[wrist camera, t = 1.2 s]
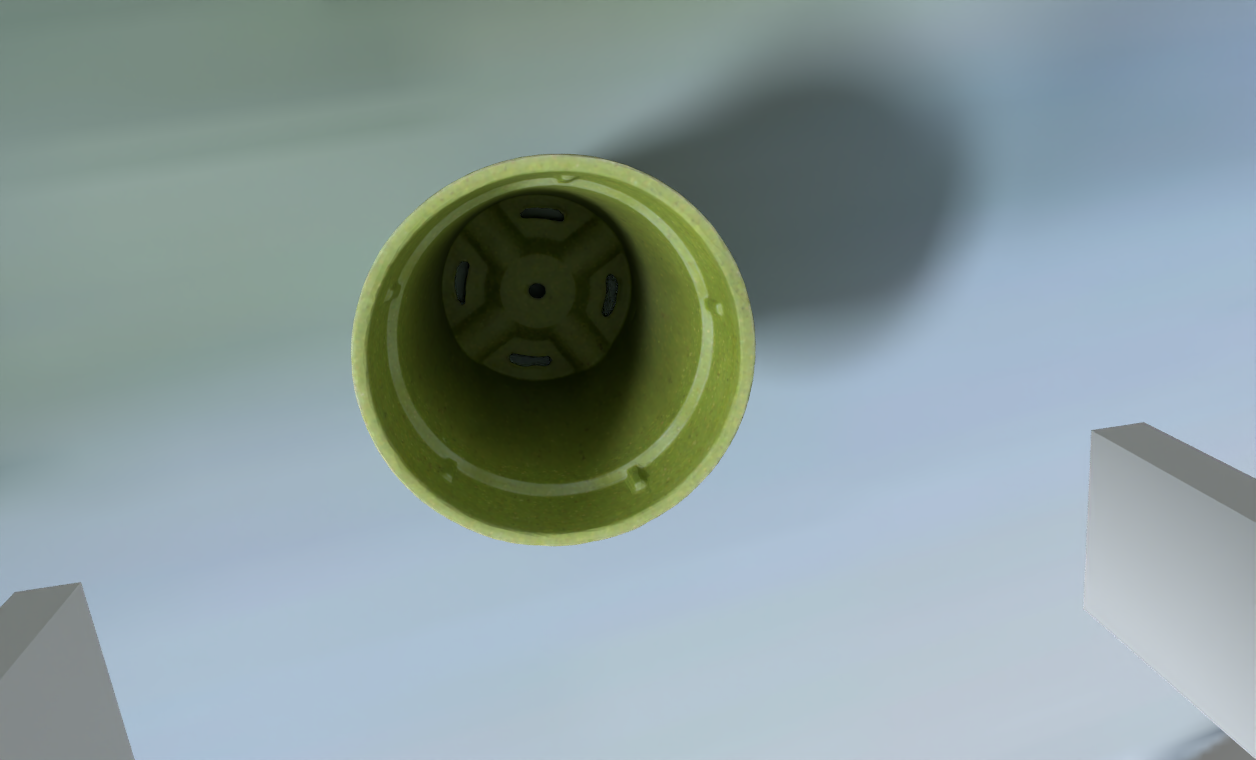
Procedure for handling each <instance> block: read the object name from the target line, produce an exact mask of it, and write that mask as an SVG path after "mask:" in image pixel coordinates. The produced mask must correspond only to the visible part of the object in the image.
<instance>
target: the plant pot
mask: <svg viewBox="0 0 1256 760" xmlns="http://www.w3.org/2000/svg"><path fill="white" fill-rule="evenodd" d="M537 207H538V208H552V209H554V210H559V211H560V213H562V214H563V215H564V221H561V222H559V221H555V220H549V219H543V218H522V217H521V215H520V214H521V213H522V212H523V211H524V210H525V209H526V208H537ZM462 261H465V262H468V263H469V265H470V266H469V270H468V275H467V280H466V289H465V291H466V295H465V297H464V298H465V304H463V305H461V302H460V301H459V300H458V299H457V295H456V290H455V275H456V269H457V267H458V266H459V264H460V263H461V262H462ZM609 274H612V275H614V277H615V278H616V281H617V283H618V292H617V296H616V304H615V307H614V309H613V311H612V313H611V314H610V315H609V316H607V317H605V316H603V314H602V309H603V305H604V301H605V297H606V287H607V286H606V277H607V276H608V275H609ZM535 283H538V284H541V285H543V286H545V290H546V293H545V295H544V296H543V297H542V298H539V299H538V298H533V297H532V296H531V295H530V294H529V287H530V286H531V285H532V284H535ZM512 353H515V354H519V355H526V356H536V357H545V356H549V357H550V358H551V359H552V361H551V362H550V364H549V365H547V366H536V365H532V366H525V367H524V366H520V365H516V364H514V363H512V362H511V361H510V358H509V356H510V355H511V354H512ZM351 360H352V375H353V383H354V389H355V393H356V398H357V402H358V405H359V408H360V411H361V414H362V417H363V419H364V422H365V424H366V427H367V430H368V432H369V434H370V436H371V438H372V440H373V442H374V444H375V446H376V448H377V450H378V451H379V453H380V454H381V456H382V458H383V459H384V461H385V462H386V463H387V465H388V466H389V468H390V469H391V470H392V472H393V473H394V474H395V475H396V476H397V477H398V479H399V480H400V481H401V482H402V483H403V484H404V485H405V486H406V487H407V488H408V489H409V490H410V491H411V492H412V493H413V494H414V495H415V496H416V497H417V498H419V499H420V500H421V501H422V502H423V503H425V504H426V505H428V506H429V507H430V508H432V509H433V510H434V511H436V512H438V513H439V514H441V515H443V516H444V517H446V518H448V519H449V520H451V521H453V522H455V523H457V524H459V525H461V526H463V527H465V528H467V529H469V530H472V531H474V532H477V533H479V534H482V535H484V536H487V537H490V538H493V539H497V540H502V541H506V542H510V543H516V544H525V545H542V546H566V545H577V544H583V543H588V542H592V541H599V540H603V539H607V538H611V537H614V536H617V535H620V534H623V533H626V532H629V531H632V530H634V529H636V528H638V527H640V526H642V525H644V524H645V523H647V522H649V521H650V520H652V519H654V518H656V517H658V516H660V515H661V514H663V513H664V512H666V511H667V510H669V509H671V508H672V507H674V506H675V505H677V504H678V503H679V502H680V501H682V500H683V499H684V498H685V497H687V496H688V495H689V494H690V493H691V492H692V491H693V490H694V489H695V488H696V487H697V486H698V485H699V484H700V483H701V482H702V481H703V480H704V479H705V478H706V477H707V476H708V475H709V474H710V472H711V471H712V470H713V469H714V468H715V466H716V465H717V464H718V462H719V461H720V459H721V458H722V456H723V455H724V453H725V452H726V450H727V448H728V447H729V445H730V444H731V442H732V440H733V438H734V436H735V434H736V432H737V430H738V428H739V425H740V423H741V421H742V418H743V415H744V413H745V410H746V407H747V403H748V400H749V396H750V391H751V387H752V382H753V374H754V364H755V327H754V320H753V314H752V310H751V305H750V301H749V297H748V293H747V290H746V286H745V283H744V281H743V278H742V276H741V273H740V271H739V268H738V266H737V264H736V262H735V260H734V258H733V256H732V254H731V252H730V251H729V249H728V248H727V246H726V244H725V243H724V241H723V240H722V238H721V237H720V235H719V234H718V233H717V231H716V230H715V228H714V227H713V226H712V225H711V223H710V222H709V221H708V220H707V219H706V217H705V216H704V215H703V214H702V213H701V212H700V211H699V210H698V209H697V208H696V207H695V206H694V205H692V204H691V203H690V202H689V201H688V200H687V199H686V198H685V197H683V196H682V195H681V194H680V193H678V192H677V191H676V190H674V189H672V188H671V187H669V186H668V185H666V184H664V183H663V182H661V181H660V180H658V179H656V178H654V177H653V176H651V175H649V174H646V173H644V172H642V171H640V170H637V169H635V168H632V167H630V166H627V165H625V164H621V163H618V162H615V161H611V160H607V159H603V158H598V157H593V156H586V155H576V154H543V155H533V156H526V157H519V158H515V159H511V160H507V161H503V162H499V163H496V164H493V165H490V166H487V167H484V168H482V169H479V170H477V171H474V172H472V173H470V174H468V175H466V176H464V177H462V178H460V179H458V180H456V181H454V182H453V183H451V184H449V185H448V186H446V187H444V188H442V189H441V190H439V191H438V192H437V193H435V194H434V195H433V196H431V197H430V198H428V199H427V200H426V201H425V202H424V203H422V204H421V205H420V206H419V207H418V208H417V209H416V210H415V211H413V212H412V213H411V214H410V215H409V216H408V217H407V218H406V219H405V220H404V221H403V222H402V223H401V224H400V226H399V227H398V228H397V229H396V230H395V231H394V233H393V234H392V235H391V236H390V238H389V239H388V240H387V242H386V243H385V244H384V246H383V247H382V249H381V251H380V252H379V254H378V256H377V258H376V260H375V261H374V263H373V265H372V267H371V269H370V271H369V273H368V276H367V278H366V281H365V283H364V286H363V289H362V291H361V294H360V298H359V302H358V306H357V309H356V314H355V318H354V323H353V331H352V342H351Z"/></svg>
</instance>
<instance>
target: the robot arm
mask: <svg viewBox="0 0 1256 760" xmlns="http://www.w3.org/2000/svg"><path fill="white" fill-rule="evenodd" d="M1083 609H1084V610H1085V611H1086V612H1087V613H1088V614H1089V615H1091V616H1092V617H1093V618H1094V619H1095V620H1096V621H1097V622H1099V623H1100V624H1101V625H1102V626H1103V627H1104V628H1105V629H1107V630H1108V631H1109V632H1110V633H1111V634H1112V635H1114V636H1115V637H1116V638H1117V639H1118V640H1119V641H1120V642H1122V643H1123V644H1124V645H1125V646H1126V647H1127V648H1129V649H1130V650H1131V651H1132V652H1133V653H1134V654H1135V655H1137V656H1138V657H1139V658H1140V659H1141V660H1142V661H1143V662H1145V663H1146V664H1147V665H1148V666H1149V667H1150V668H1152V669H1153V670H1154V671H1155V672H1156V673H1157V674H1158V675H1160V676H1161V677H1162V678H1163V679H1164V680H1165V681H1166V682H1168V683H1169V684H1170V685H1171V686H1172V687H1173V688H1175V689H1176V690H1177V691H1178V692H1179V693H1180V694H1181V695H1183V696H1184V697H1185V698H1186V699H1187V700H1188V701H1189V702H1191V703H1192V704H1193V705H1194V706H1195V707H1196V708H1198V709H1199V710H1200V711H1201V712H1202V713H1203V714H1204V715H1206V716H1207V717H1208V718H1209V719H1210V720H1211V721H1212V722H1214V723H1215V724H1216V725H1217V726H1218V727H1219V728H1221V729H1222V730H1223V731H1224V732H1225V733H1226V734H1227V735H1229V736H1230V737H1231V738H1232V739H1233V740H1234V741H1235V742H1237V743H1238V744H1239V745H1240V746H1241V747H1242V748H1244V749H1245V750H1246V751H1247V752H1248V753H1249V754H1250V755H1252V756H1253V757H1254V758H1255V759H1256V479H1255V478H1253V477H1251V476H1249V475H1247V474H1245V473H1243V472H1241V471H1239V470H1237V469H1235V468H1233V467H1231V466H1229V465H1228V464H1226V463H1224V462H1222V461H1220V460H1218V459H1216V458H1214V457H1212V456H1210V455H1208V454H1206V453H1204V452H1202V451H1200V450H1198V449H1196V448H1194V447H1192V446H1190V445H1188V444H1186V443H1184V442H1182V441H1180V440H1178V439H1176V438H1174V437H1172V436H1170V435H1168V434H1166V433H1164V432H1162V431H1160V430H1158V429H1156V428H1154V427H1152V426H1150V425H1148V424H1146V423H1144V422H1143V423H1136V424H1130V425H1123V426H1117V427H1110V428H1103V429H1097V430H1091V450H1090V471H1089V493H1088V515H1087V537H1086V558H1085V580H1084V602H1083ZM0 760H134V756H133V753H132V750H131V746H130V743H129V740H128V736H127V733H126V730H125V727H124V723H123V720H122V717H121V713H120V710H119V707H118V703H117V700H116V697H115V693H114V690H113V687H112V683H111V680H110V677H109V674H108V670H107V667H106V664H105V660H104V657H103V654H102V650H101V647H100V644H99V640H98V637H97V634H96V630H95V627H94V624H93V621H92V617H91V614H90V611H89V607H88V604H87V601H86V597H85V594H84V591H83V587H82V584H81V582H79V583H73V584H66V585H59V586H53V587H46V588H40V589H33V590H26V591H20V592H15V593H14V594H13V595H12V596H11V597H10V598H9V599H8V600H7V601H6V602H5V603H4V604H3V605H2V606H1V607H0Z"/></svg>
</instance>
